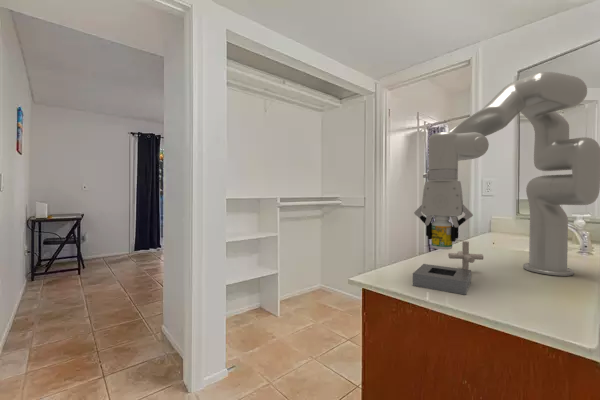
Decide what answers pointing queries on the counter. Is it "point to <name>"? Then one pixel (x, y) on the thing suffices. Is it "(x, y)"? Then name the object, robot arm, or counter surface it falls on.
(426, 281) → the socket block
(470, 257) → the pipe connector
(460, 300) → the counter surface
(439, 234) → the supplement bottle
